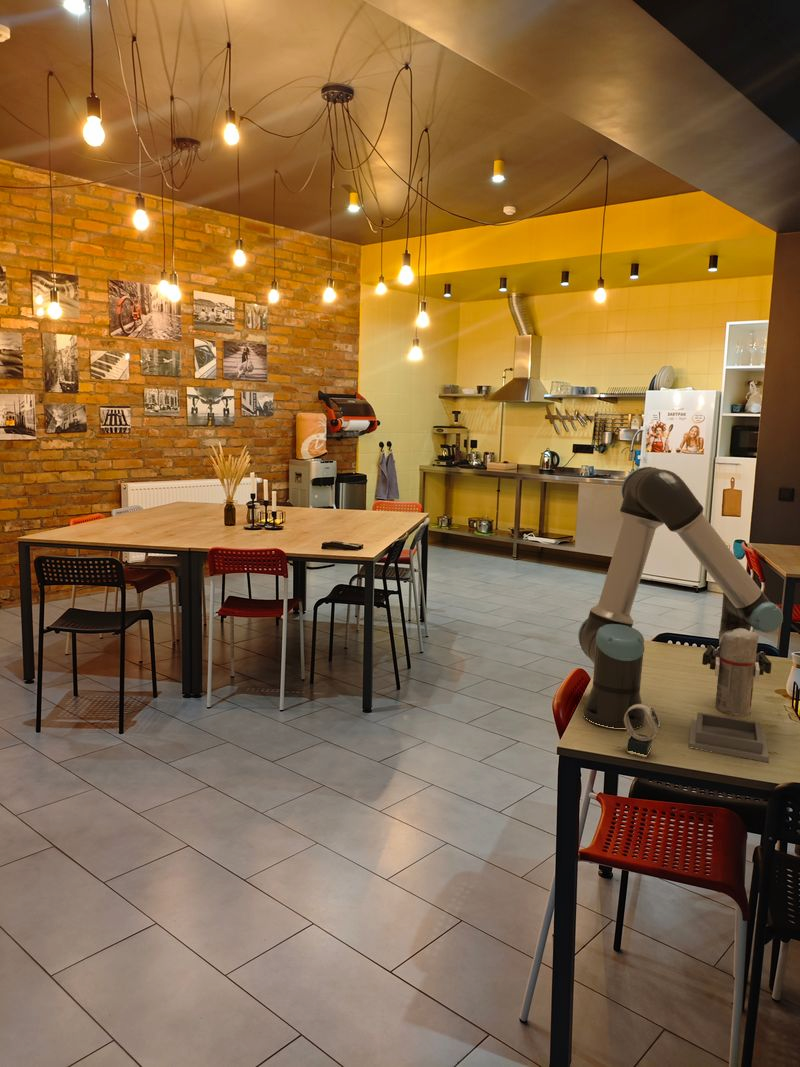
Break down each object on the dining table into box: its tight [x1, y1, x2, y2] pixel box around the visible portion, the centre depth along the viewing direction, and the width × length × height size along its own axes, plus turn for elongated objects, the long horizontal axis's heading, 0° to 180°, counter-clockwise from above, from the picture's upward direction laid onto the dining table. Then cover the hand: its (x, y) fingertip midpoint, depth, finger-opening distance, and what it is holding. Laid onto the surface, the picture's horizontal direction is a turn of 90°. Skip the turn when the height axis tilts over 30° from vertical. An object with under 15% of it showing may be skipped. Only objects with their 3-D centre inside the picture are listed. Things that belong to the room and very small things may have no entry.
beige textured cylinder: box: [714, 628, 759, 717], centre depth 186 cm, size 8×8×20 cm
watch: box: [624, 703, 661, 755], centre depth 180 cm, size 6×8×11 cm
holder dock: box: [688, 711, 770, 763], centre depth 188 cm, size 17×17×4 cm
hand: (737, 672), depth 182 cm, fingers closed on beige textured cylinder, 8 cm apart
